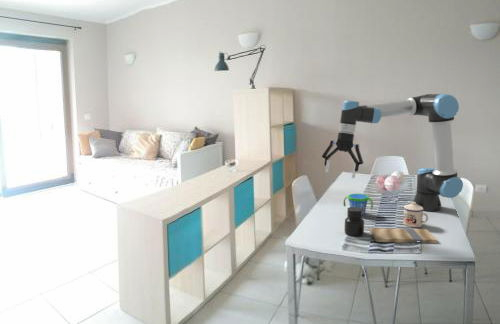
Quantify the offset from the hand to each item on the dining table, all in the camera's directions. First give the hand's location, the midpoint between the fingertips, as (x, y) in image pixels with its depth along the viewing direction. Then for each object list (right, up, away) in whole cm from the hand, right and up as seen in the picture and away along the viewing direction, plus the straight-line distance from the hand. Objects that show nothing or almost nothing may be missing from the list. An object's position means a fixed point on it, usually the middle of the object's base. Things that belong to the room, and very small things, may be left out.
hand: (339, 175), depth 184 cm
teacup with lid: (+38, -25, +1) cm, 46 cm away
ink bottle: (+5, -28, -8) cm, 29 cm away
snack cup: (+15, -22, +20) cm, 33 cm away
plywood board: (+25, -28, -13) cm, 40 cm away
